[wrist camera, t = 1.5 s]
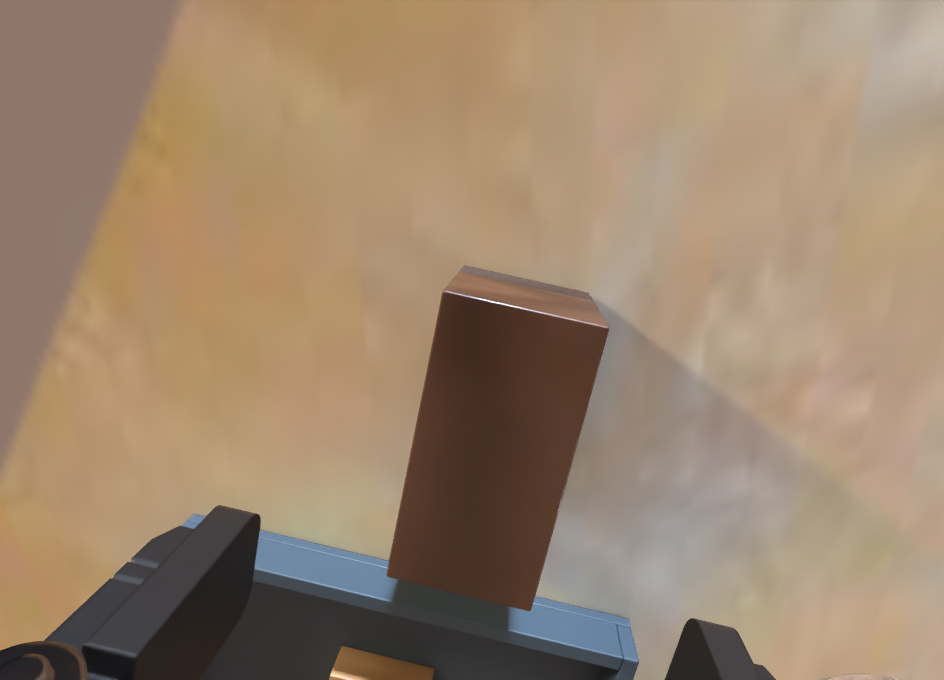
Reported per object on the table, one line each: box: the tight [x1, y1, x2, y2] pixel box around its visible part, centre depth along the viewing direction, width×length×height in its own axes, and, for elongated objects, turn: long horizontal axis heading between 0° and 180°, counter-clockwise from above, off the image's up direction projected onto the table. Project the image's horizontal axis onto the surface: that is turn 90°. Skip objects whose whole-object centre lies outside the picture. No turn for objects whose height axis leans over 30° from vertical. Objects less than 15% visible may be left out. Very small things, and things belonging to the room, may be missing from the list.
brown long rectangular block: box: [386, 266, 609, 611], centre depth 20 cm, size 4×9×6 cm, turn 168°
